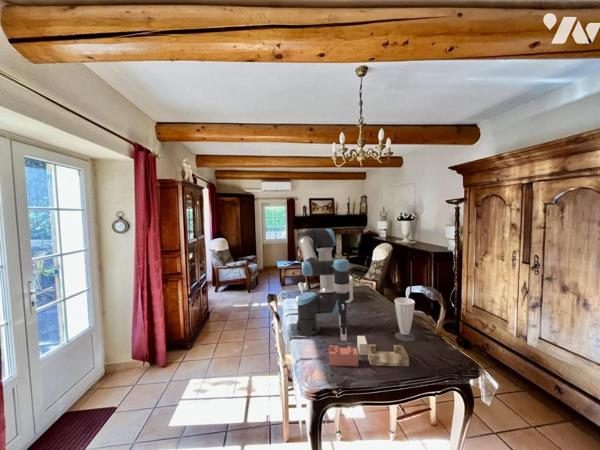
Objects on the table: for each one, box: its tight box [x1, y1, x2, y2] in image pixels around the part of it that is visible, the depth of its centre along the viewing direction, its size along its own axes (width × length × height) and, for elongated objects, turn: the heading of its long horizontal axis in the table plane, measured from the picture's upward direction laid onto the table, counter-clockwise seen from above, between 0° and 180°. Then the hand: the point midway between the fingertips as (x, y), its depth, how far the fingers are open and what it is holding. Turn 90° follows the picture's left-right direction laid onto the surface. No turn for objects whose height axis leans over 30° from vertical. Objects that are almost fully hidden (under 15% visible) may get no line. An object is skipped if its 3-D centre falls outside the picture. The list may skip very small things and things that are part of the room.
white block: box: [356, 335, 368, 356], centre depth 140 cm, size 9×4×6 cm, turn 174°
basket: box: [333, 274, 354, 304], centre depth 224 cm, size 25×24×19 cm
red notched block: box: [328, 344, 359, 367], centre depth 130 cm, size 14×6×8 cm, turn 85°
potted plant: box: [295, 282, 307, 305], centre depth 200 cm, size 13×12×25 cm
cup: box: [393, 297, 416, 342], centre depth 154 cm, size 12×12×22 cm
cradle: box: [366, 343, 410, 367], centre depth 131 cm, size 18×11×5 cm, turn 85°
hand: (342, 333), depth 129 cm, fingers open, 13 cm apart
